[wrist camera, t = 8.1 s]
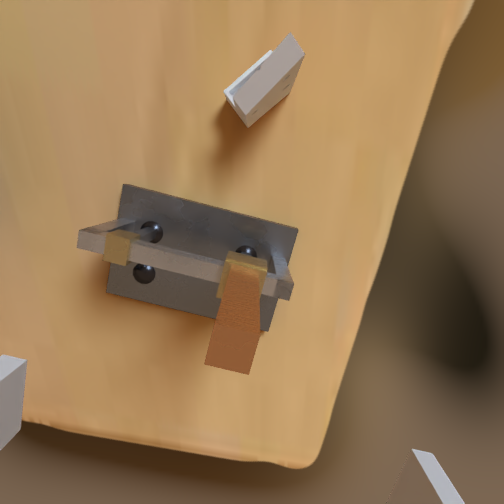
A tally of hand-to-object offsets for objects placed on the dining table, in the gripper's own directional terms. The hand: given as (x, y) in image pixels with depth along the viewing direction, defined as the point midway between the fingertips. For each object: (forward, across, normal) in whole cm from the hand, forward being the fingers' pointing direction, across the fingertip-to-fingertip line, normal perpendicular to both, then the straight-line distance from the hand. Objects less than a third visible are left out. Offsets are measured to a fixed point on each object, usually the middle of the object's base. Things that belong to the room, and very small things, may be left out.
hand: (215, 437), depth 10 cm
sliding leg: (+25, 0, 0) cm, 25 cm away
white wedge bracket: (+27, -3, +17) cm, 32 cm away
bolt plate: (+27, -5, -2) cm, 27 cm away
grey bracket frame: (+26, -5, 0) cm, 26 cm away
